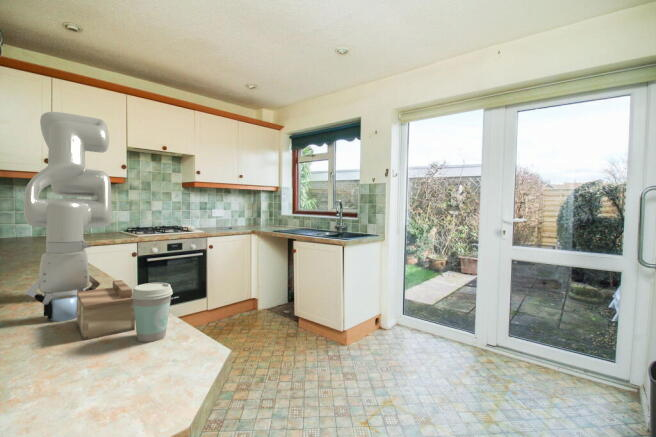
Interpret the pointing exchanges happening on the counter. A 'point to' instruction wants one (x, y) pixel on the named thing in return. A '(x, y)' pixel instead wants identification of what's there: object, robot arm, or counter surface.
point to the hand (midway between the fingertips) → (64, 314)
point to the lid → (106, 296)
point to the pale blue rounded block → (63, 308)
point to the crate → (105, 320)
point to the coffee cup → (151, 310)
